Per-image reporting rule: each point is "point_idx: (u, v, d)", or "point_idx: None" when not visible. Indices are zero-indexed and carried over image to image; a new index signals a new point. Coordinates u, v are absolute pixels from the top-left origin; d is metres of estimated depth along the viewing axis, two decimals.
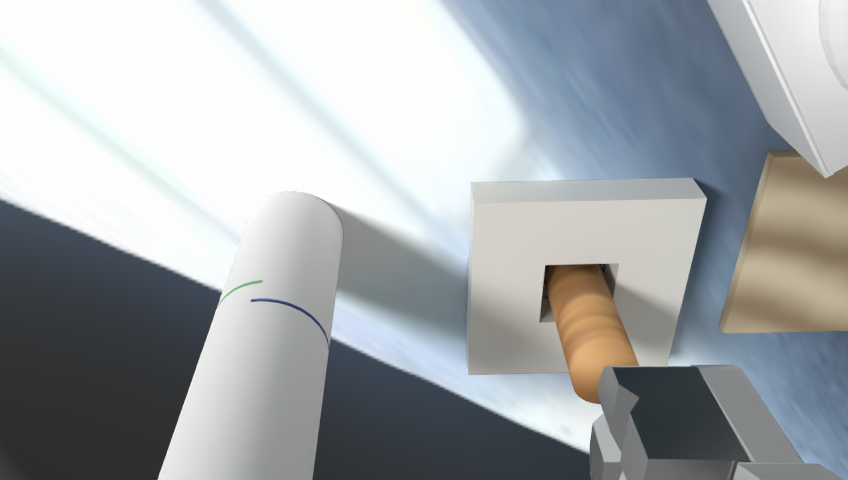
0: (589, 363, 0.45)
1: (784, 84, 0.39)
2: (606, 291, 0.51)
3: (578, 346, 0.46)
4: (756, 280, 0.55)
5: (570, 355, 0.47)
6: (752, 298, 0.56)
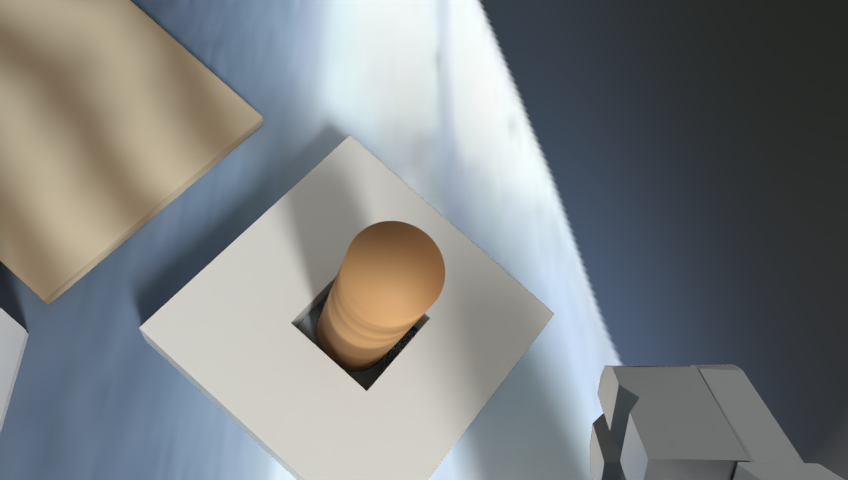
0: (397, 312, 0.30)
1: None
2: (326, 315, 0.36)
3: (395, 327, 0.31)
4: (179, 156, 0.41)
5: (415, 320, 0.32)
6: (201, 137, 0.42)
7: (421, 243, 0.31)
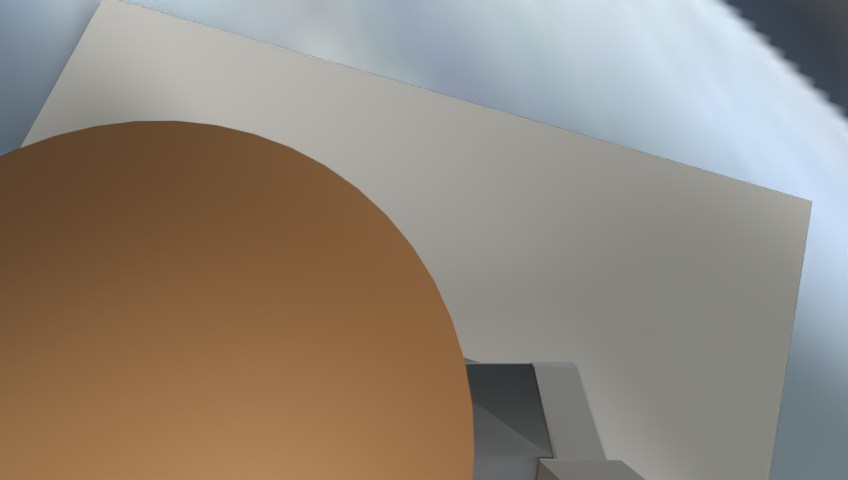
0: None
1: None
2: None
3: None
4: None
5: None
6: None
7: (241, 199, 0.05)
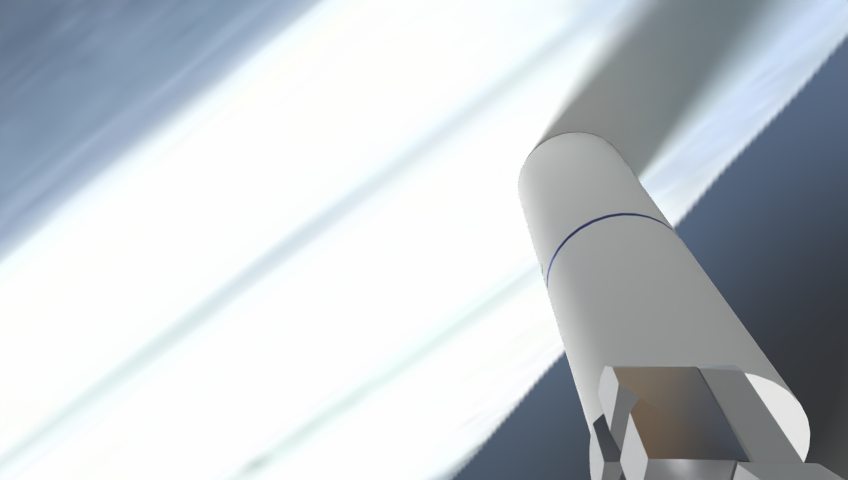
0: None
1: None
2: None
3: None
4: None
5: None
6: None
7: None
